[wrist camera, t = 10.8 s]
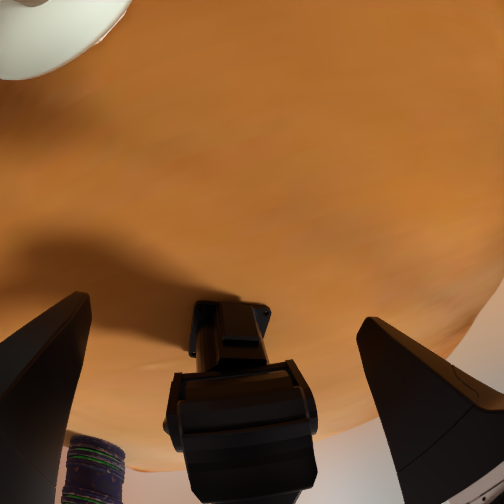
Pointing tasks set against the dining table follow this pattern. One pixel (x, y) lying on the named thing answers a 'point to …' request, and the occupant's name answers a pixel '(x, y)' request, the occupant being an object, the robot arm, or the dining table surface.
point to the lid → (51, 33)
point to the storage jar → (93, 472)
